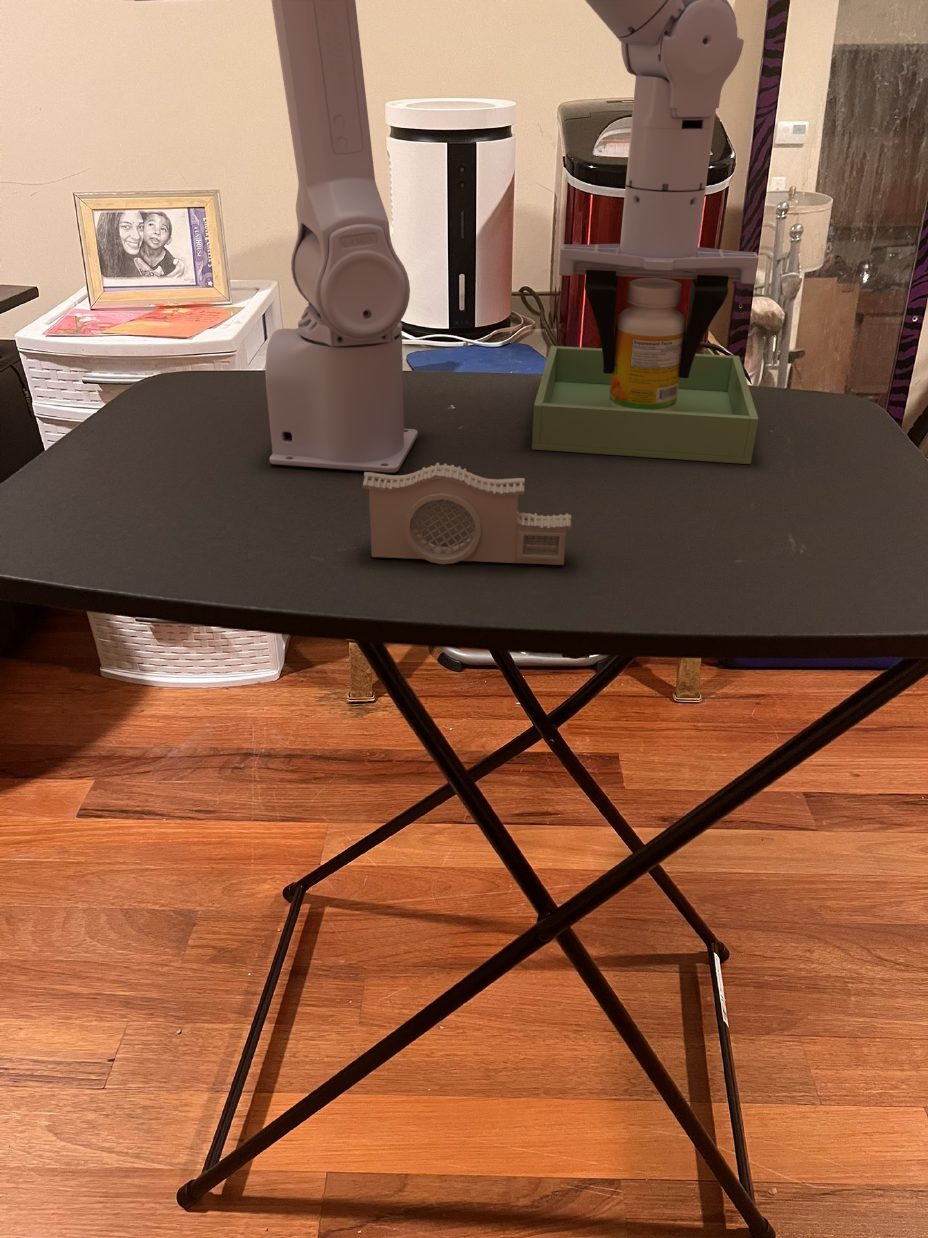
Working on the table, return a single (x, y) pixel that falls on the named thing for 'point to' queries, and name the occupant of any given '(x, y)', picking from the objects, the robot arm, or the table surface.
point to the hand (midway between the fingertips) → (644, 372)
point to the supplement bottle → (648, 347)
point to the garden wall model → (480, 497)
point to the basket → (645, 412)
